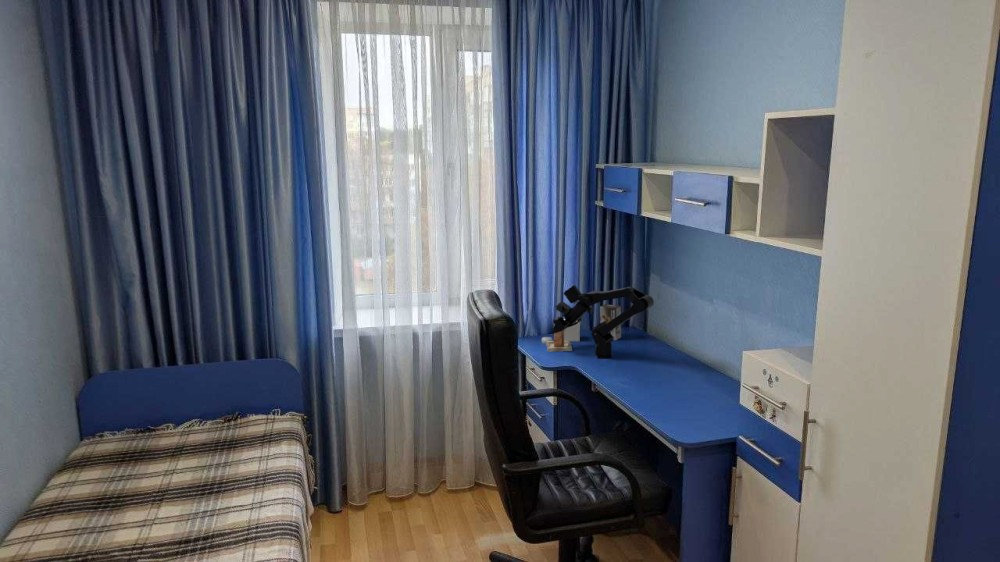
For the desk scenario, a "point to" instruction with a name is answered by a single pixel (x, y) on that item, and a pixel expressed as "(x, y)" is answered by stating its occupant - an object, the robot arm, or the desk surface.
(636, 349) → the desk surface
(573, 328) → the block
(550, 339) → the flattened gray dome
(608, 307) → the coffee box
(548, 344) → the tray
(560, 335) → the copper cylinder
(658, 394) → the desk surface
